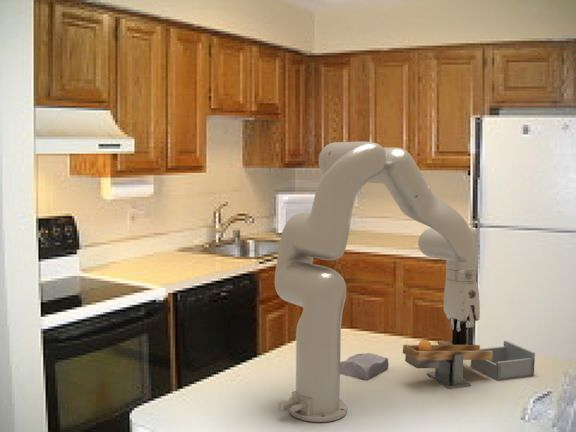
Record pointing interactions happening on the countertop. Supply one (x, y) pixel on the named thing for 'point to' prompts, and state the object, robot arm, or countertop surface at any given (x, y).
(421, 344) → the ball
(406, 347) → the seesaw
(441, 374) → the fulcrum
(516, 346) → the tray
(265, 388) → the countertop surface
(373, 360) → the stone block
